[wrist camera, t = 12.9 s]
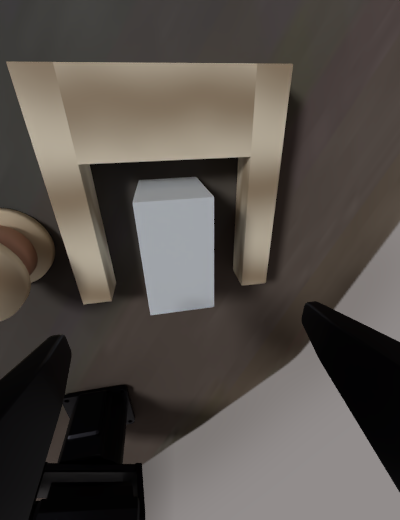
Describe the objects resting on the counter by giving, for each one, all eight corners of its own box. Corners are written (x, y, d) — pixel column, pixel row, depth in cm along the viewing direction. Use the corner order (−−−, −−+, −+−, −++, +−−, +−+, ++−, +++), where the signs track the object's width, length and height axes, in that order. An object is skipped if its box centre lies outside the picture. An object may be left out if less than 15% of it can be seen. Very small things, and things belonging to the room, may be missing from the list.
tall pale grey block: (198, 262, 21) (214, 306, 16) (151, 267, 20) (150, 315, 15) (195, 176, 17) (214, 196, 12) (138, 179, 17) (132, 202, 12)
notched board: (254, 267, 22) (265, 282, 20) (91, 285, 20) (83, 304, 18) (273, 73, 15) (293, 63, 13) (30, 72, 13) (6, 61, 11)
